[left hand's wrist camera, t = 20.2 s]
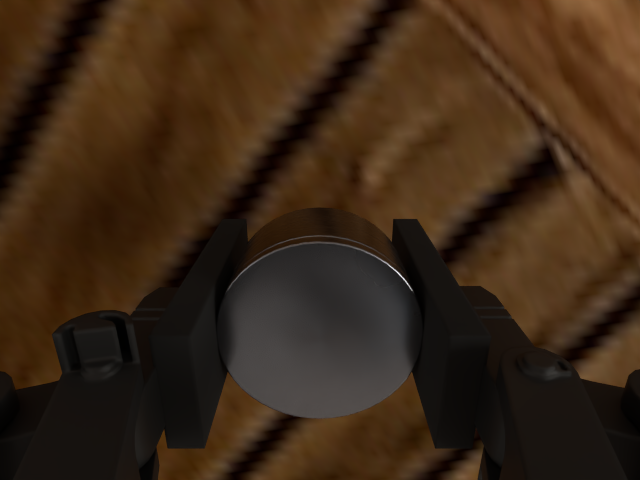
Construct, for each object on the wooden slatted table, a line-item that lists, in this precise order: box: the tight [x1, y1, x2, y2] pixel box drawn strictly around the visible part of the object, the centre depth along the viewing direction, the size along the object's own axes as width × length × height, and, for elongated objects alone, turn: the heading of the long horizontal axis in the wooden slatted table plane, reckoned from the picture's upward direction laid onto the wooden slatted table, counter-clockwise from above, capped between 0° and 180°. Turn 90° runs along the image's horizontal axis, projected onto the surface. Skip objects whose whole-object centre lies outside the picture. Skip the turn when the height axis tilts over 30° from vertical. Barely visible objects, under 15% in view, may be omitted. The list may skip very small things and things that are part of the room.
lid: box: [216, 208, 424, 418], centre depth 11 cm, size 5×5×2 cm
